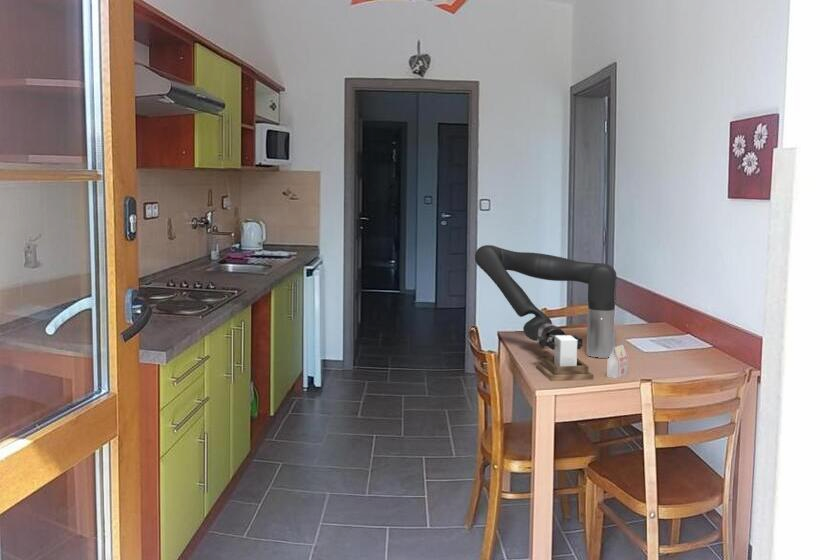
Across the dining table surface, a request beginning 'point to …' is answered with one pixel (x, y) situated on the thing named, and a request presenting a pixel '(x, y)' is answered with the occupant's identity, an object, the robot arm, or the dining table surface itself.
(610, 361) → the milk carton
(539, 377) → the dining table surface
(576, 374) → the walnut cradle
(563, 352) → the small box
